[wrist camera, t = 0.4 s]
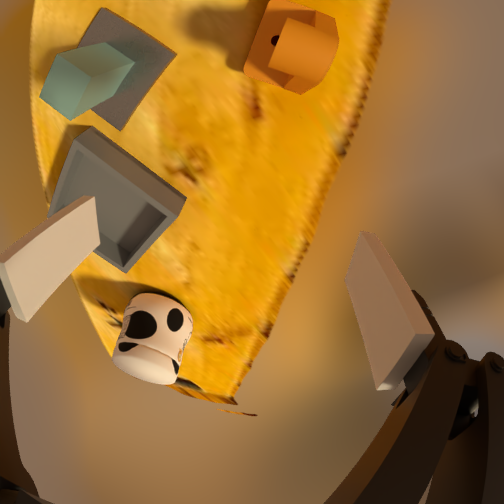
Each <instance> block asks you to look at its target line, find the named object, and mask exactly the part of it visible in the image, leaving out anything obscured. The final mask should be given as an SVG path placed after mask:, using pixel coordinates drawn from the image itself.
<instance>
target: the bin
mask: <svg viewBox="0 0 504 504" xmlns="http://www.w3.org/2000/svg"><path fill="white" fill-rule="evenodd" d="M82 196H95V205H96V215H97V223H98V231H99V238H100V245H99V246H97V247H96V248H95V249H94V250H93V252H95V253H96V254H97V255H99V256H100V257H102V258H103V259H105V260H106V261H108V262H109V263H111V264H112V265H114V266H115V267H117V268H118V269H120V270H121V271H123V272H124V273H127V272H128V271H129V270H130V269H131V267H132V266H133V265H134V264H135V263H136V262H137V261H138V260H139V258H140V257H141V256H142V255H143V254H144V253H145V252H146V251H147V249H148V248H149V247H150V246H151V245H152V244H153V243H154V242H155V241H156V240H157V239H158V237H159V236H160V235H161V234H162V233H163V232H164V231H165V230H166V229H167V228H168V227H169V226H170V225H171V224H172V223H173V222H174V221H175V219H176V218H177V217H178V216H179V214H180V212H181V210H182V207H183V205H184V203H185V201H186V199H187V197H185V196H184V195H183V194H181V193H180V192H179V191H178V190H176V189H175V188H174V187H172V186H171V185H170V184H168V183H167V182H166V181H164V180H163V179H162V178H160V177H159V176H158V175H157V174H155V173H154V172H153V171H151V170H150V169H149V168H147V167H146V166H145V165H143V164H142V163H141V162H139V161H138V160H137V159H135V158H134V157H133V156H131V155H130V154H129V153H128V152H126V151H125V150H124V149H122V148H121V147H120V146H118V145H117V144H116V143H114V142H113V141H112V140H110V139H109V138H108V137H106V136H105V135H104V134H102V133H101V132H100V131H98V130H97V129H96V128H94V127H93V126H91V127H90V128H89V129H87V130H86V131H84V132H83V133H82V134H80V135H79V136H78V137H76V138H75V139H74V141H73V143H72V145H71V148H70V150H69V153H68V155H67V158H66V160H65V163H64V166H63V168H62V171H61V174H60V177H59V180H58V183H57V186H56V189H55V192H54V195H53V198H52V201H51V205H50V208H49V212H48V215H47V218H49V217H51V216H52V215H54V214H55V213H57V212H58V211H60V210H61V209H63V208H64V207H66V206H68V205H69V204H71V203H72V202H74V201H75V200H77V199H79V198H80V197H82Z"/></svg>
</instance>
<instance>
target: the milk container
mask: <svg viewBox="0 0 504 504" xmlns="http://www.w3.org/2000/svg"><path fill="white" fill-rule="evenodd" d="M192 328H193V320H192V317H191V314H190V312H189V311H188V310H187V309H186V308H185V307H184V306H183V305H182V304H181V303H179V302H177V301H176V300H174V299H173V298H170V297H167V296H165V295H163V294H157V293H153V292H152V293H140V294H137V295H135V296H134V297H133V298H132V299H131V300H130V301H129V303H128V305H127V306H126V309H125V312H124V317H123V326H122V330H121V333H120V335H119V337H118V340H117V343H116V347H115V349H114V352H113V356H112V361H113V363H114V364H115V365H116V366H117V367H118V368H119V369H121V370H122V371H124V372H126V373H127V374H129V375H132V376H134V377H136V378H139V379H141V380H144V381H148V382H152V383H157V384H172V383H175V380H176V378H177V375H178V370H179V367H180V364H181V359H182V354H183V350H184V348H185V346H186V344H187V343H188V341H189V339H190V337H191V334H192Z"/></svg>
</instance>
